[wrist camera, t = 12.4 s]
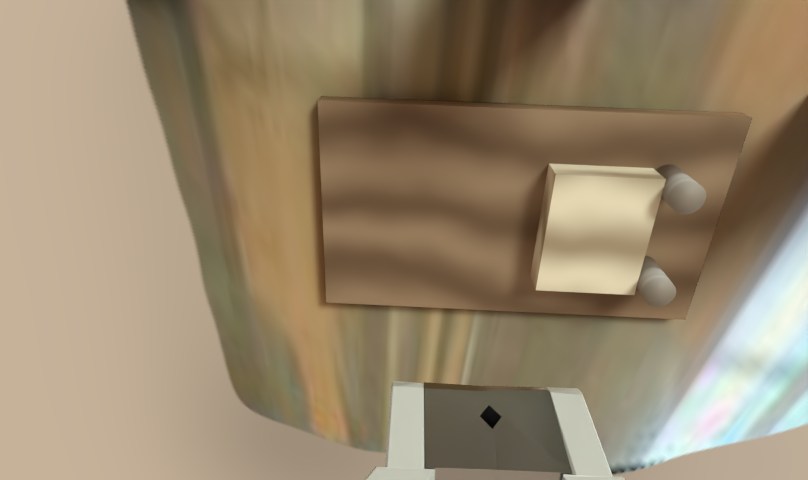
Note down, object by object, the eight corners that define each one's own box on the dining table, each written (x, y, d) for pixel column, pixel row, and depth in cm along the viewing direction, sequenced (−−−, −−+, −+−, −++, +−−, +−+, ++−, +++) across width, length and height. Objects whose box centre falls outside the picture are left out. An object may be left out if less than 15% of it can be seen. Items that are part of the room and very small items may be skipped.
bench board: (321, 96, 41) (306, 113, 36) (741, 113, 40) (785, 132, 35) (329, 293, 49) (318, 329, 44) (678, 309, 48) (706, 348, 43)
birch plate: (548, 163, 41) (555, 174, 39) (653, 168, 41) (666, 179, 39) (530, 274, 45) (535, 290, 43) (623, 279, 45) (634, 295, 43)
